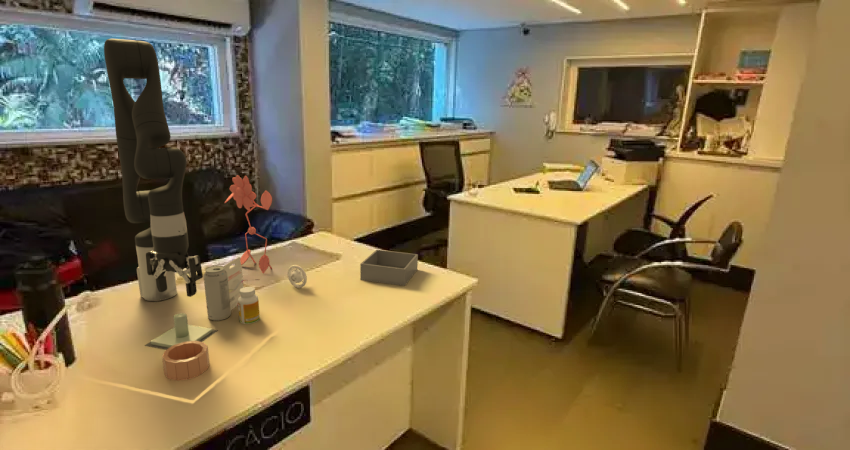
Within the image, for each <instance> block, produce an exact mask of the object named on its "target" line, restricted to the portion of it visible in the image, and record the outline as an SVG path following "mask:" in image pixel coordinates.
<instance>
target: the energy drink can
mask: <svg viewBox="0 0 850 450" xmlns="http://www.w3.org/2000/svg"><path fill="white" fill-rule="evenodd" d="M203 282H204V283H203V284H204V293H205V302H206V310H207V312H206V313H207V318H208V319H209V320H212V321H215V322H216V321H217V322H218V321H223V320H226V319H228V318H229V317H230V316H231V314H232V310H231V308H230V297H229V287H228V276H227V272H226V271H225V269H224V265H212V266H208V267H206V268H205V269H204V274H203Z"/></svg>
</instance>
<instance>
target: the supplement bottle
mask: <svg viewBox="0 0 850 450" xmlns="http://www.w3.org/2000/svg"><path fill="white" fill-rule="evenodd" d="M243 287H244V286H243ZM237 308H238V320H239V323H241V324H245V325H250V324H254V323H257V322H258V321H259V320H260V319H261V317H260V316H261V315H260V303H259V296H258V295H257V294H256V288H255V287H254V286H245V287H244V288H241V289H240V297H239V298H238V306H237Z"/></svg>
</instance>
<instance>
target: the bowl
mask: <svg viewBox="0 0 850 450" xmlns="http://www.w3.org/2000/svg"><path fill="white" fill-rule="evenodd" d="M161 359H162V366H163V373H164V376H165V377H166V378H167V379H168V380H173V381H185V380H191V379H194V378H196V377H198V376H201V375H202V374H203V373H206V371H207V370H208V369H209V367H210V355H209V346H208V345H207V344H206V343H205V342H204V341H203V342H199V341H188V342H182V343H179V344H176V345H173V346H171V347H170V348H168V349H167V350H164V351H163V354H162V356H161Z"/></svg>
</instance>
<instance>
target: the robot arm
mask: <svg viewBox="0 0 850 450" xmlns="http://www.w3.org/2000/svg"><path fill="white" fill-rule="evenodd" d="M103 55H104V61H105V67H106V72H107V73H106V74H107V77H108V83H109V87H110V88H109V89H110V92H111V98H112V105H113V106H112V107H113V114H114V115H113V117H114V125H115V139H116V144H117V149H118V150H117V151H118V156H119V162H120V169H121V178H122V179H121V180H122V195H123V196H122V198H123V210H124V215H125V218H126V220H127V222H129V223H130V224H140V223H142V224H143V223H150V225H149V226H150V227H148V228H147V229H145V230H142V231H139V232H138V233H137V234H136V235H135V236H134V243H135V250H136V255H137V264H138V267H136V274H137V275H136V276H137V281H138V287H139V294H140V295H139V296H140V298H143V300H145V301H148V302H158V301H164V300H167V299H171V298H173V297H174V296H176V295H177V294H178V290H177V289H178V288H177V280H176V273H177V274H178V276H179V277H182V278H183V279H184V281H185V289H186V296H187V297H190V298H191V297H193V296H195V295H197V292H198V290H197V281H198V280H200V279H204V277H203V276H204V274H203V268H202V261H201V257H200V255H199V254H198V255H194V256H192V255H191V256H190V255H189V253H188V249H189V248H190V244H189V235H188V228H187V220H186V216H185V211H184V205H183V204H184V202H183V187H184V186H183V185H184V179H185V175H186V171H187V170H186V169H187V164H188V162H187V161H188V160H187V157H186V154H185V152H183V151H182V149H180V148H178V147H173V146H172V147H163V146H166V145H168V144H169V142H170V141H171V138H172V137H171V136H172V135H171V132H170V128H169V124H168V121H167V117H166V113H165V109H164V108H165V107H164V103H163V102H164V99H163V91H162V90H163V89H162V82H161V75H160V68H159V67H160V66H159V61H158V57H157V52H156V50H155V48H154V46H153V45H152V43H150V42H148V41H143V40H134V39H133V40H132V39H122V38H121V39H120V38H107V39H106V40H105V41H104V45H103ZM124 79H135V80H146V82H145V86H144V88H143V90H142V91H141V93H140V94H139V96H137V99H136V100H134V98H133V97H132V96H131V94H130V93H129V91H128V89H127V87H126V85H125V82H124ZM141 178H142V179H144V180H157V179H158V180H159V179H169V181H168V182H167V184H166V185H162V186H159V187H156V188H153V189H151V190H150V189H149V190H139V191H138V185H139V183H140V180H141ZM184 269H185V270H184Z"/></svg>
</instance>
